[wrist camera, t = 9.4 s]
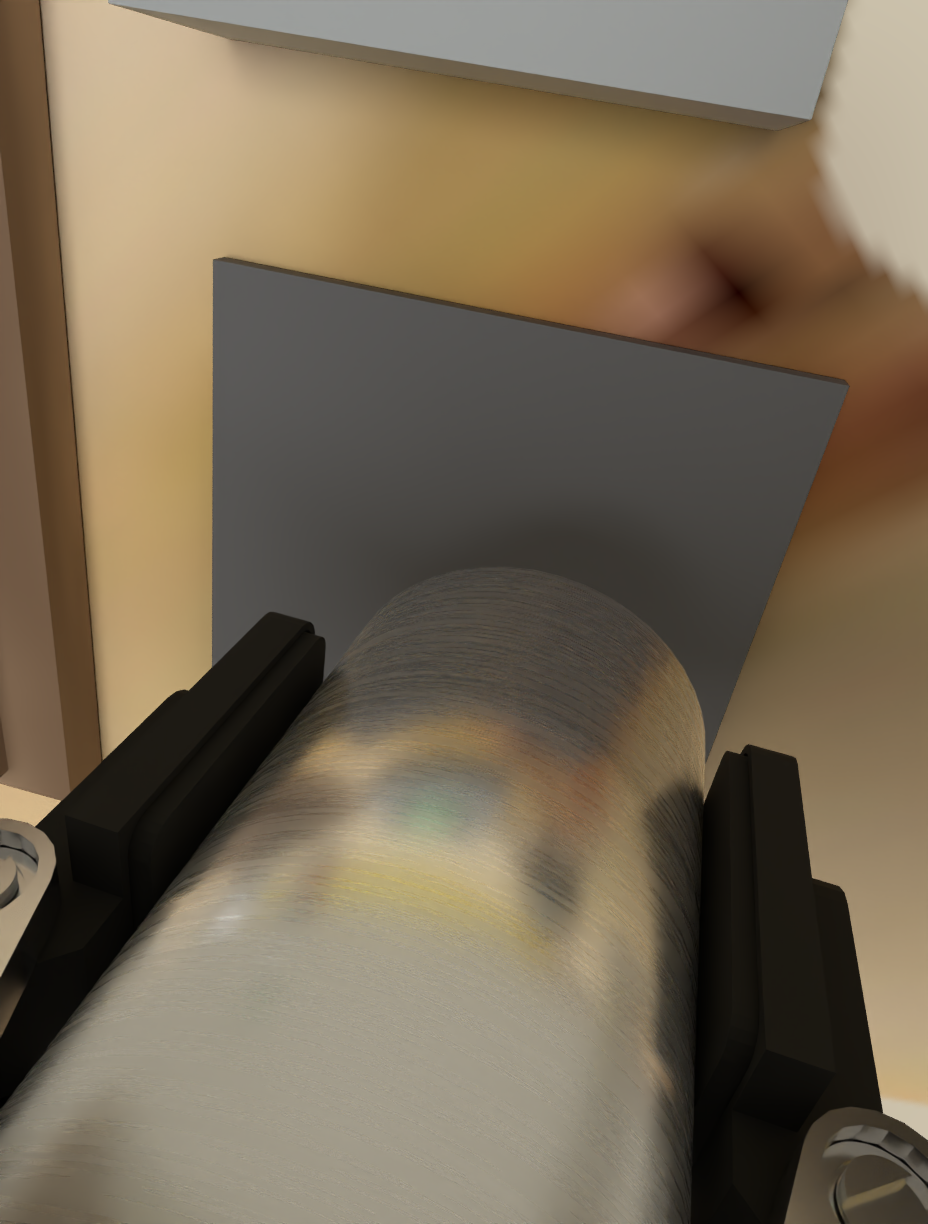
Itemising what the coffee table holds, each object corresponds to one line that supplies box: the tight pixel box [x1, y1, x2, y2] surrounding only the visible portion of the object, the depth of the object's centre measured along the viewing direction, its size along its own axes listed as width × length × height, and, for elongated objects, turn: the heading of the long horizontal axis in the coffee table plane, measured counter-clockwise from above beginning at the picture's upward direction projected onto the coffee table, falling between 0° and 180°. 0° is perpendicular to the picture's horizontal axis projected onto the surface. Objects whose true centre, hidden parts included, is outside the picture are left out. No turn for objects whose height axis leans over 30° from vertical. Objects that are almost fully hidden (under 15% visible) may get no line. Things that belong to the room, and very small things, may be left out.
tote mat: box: [212, 257, 849, 764], centre depth 15 cm, size 10×10×1 cm
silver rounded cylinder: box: [0, 567, 705, 1224], centre depth 8 cm, size 5×5×9 cm
